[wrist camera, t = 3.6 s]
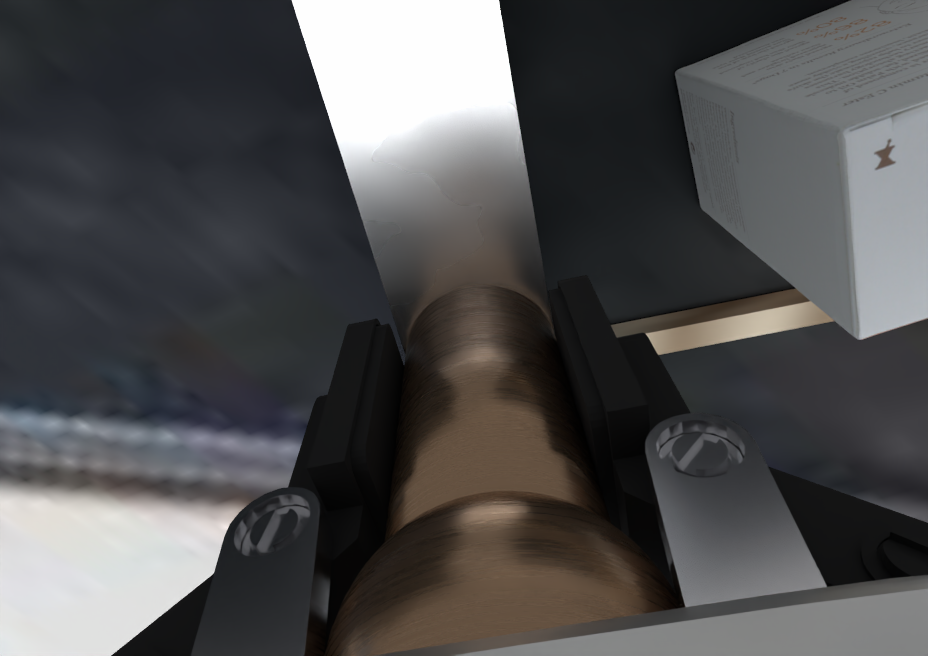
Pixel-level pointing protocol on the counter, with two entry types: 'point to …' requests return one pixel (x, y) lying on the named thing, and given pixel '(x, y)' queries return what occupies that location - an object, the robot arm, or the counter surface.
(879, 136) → the small box
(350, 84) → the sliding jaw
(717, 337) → the frame
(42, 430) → the counter surface
